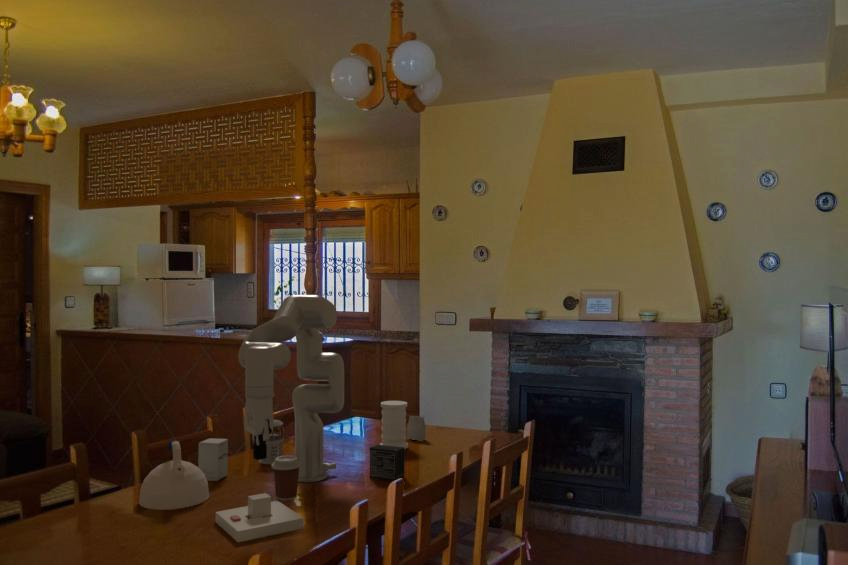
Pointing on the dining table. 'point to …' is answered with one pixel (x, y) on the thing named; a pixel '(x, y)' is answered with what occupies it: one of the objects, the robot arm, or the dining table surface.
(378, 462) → the small box
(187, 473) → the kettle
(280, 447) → the french press
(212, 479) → the supplement box
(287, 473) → the coffee cup
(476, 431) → the dining table surface
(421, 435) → the grey tapered block
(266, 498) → the plug
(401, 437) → the decorative container
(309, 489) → the dining table surface
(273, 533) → the socket
